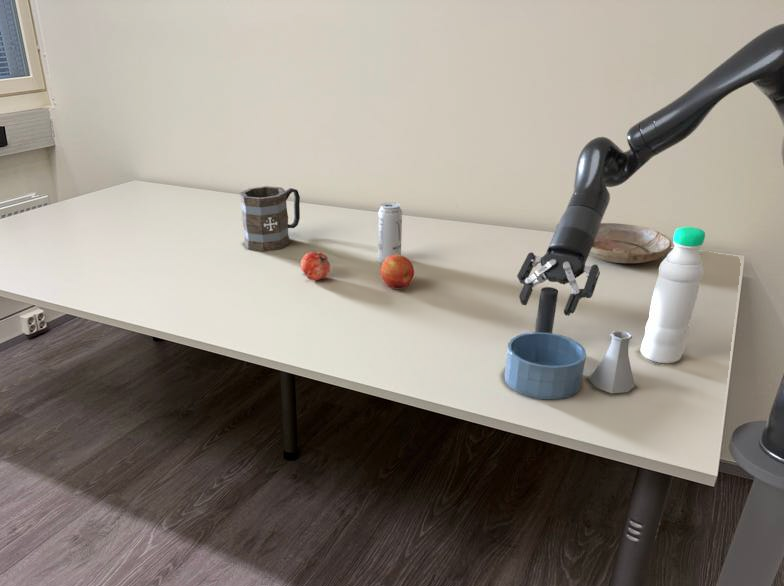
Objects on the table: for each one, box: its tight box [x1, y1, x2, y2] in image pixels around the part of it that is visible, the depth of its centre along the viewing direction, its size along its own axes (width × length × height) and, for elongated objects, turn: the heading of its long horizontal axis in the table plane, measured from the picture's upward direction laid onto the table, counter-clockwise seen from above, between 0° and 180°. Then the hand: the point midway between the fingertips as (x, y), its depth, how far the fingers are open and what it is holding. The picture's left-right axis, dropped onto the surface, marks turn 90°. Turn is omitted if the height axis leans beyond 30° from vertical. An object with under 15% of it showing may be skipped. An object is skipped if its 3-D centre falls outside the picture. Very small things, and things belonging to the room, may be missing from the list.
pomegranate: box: [300, 250, 331, 281], centre depth 168 cm, size 7×7×10 cm
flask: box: [588, 330, 636, 394], centre depth 117 cm, size 7×7×10 cm
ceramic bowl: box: [588, 222, 672, 264], centre depth 173 cm, size 23×24×5 cm
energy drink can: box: [377, 202, 403, 263], centre depth 175 cm, size 6×6×15 cm
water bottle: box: [640, 226, 706, 364], centre depth 122 cm, size 7×7×25 cm
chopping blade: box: [520, 286, 559, 335], centre depth 131 cm, size 8×8×12 cm
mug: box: [239, 185, 301, 252], centre depth 194 cm, size 20×14×15 cm
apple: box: [379, 254, 415, 290], centre depth 161 cm, size 8×8×8 cm
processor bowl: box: [503, 331, 587, 400], centre depth 120 cm, size 13×13×6 cm
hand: (544, 308), depth 128 cm, fingers open, 8 cm apart
